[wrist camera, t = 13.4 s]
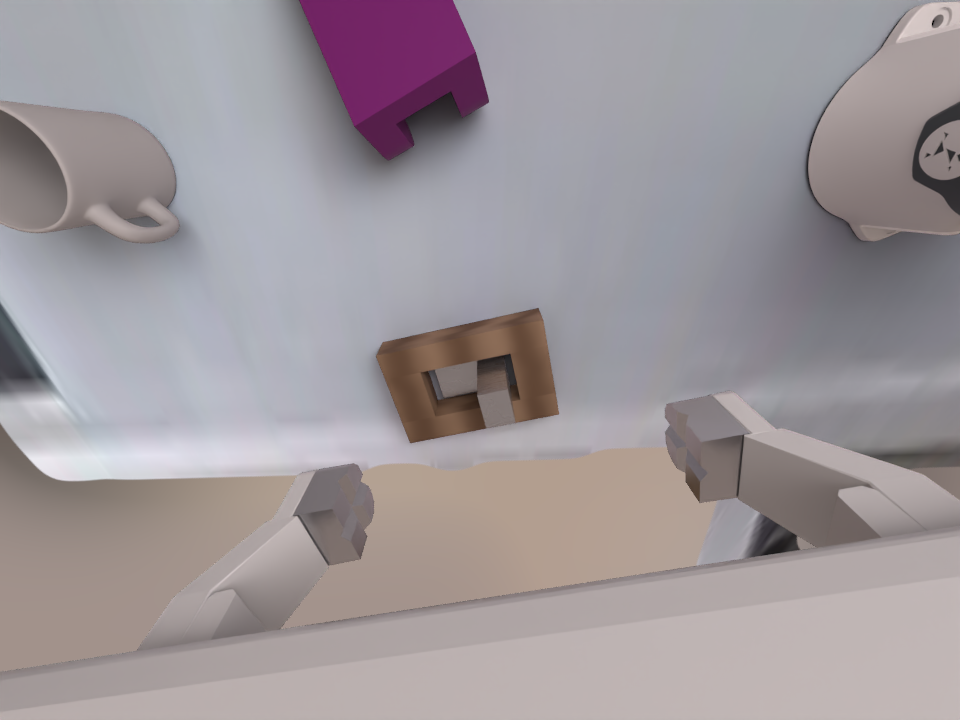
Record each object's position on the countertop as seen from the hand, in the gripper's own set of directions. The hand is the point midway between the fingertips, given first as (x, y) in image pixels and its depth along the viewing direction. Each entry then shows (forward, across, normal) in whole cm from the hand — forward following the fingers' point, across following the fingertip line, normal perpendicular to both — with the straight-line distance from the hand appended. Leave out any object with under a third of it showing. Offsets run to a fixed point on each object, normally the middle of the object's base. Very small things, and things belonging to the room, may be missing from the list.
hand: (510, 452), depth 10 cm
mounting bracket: (+34, +4, -18) cm, 39 cm away
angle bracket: (+33, +5, +15) cm, 37 cm away
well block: (+33, +5, +15) cm, 37 cm away
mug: (+33, +30, -12) cm, 46 cm away
